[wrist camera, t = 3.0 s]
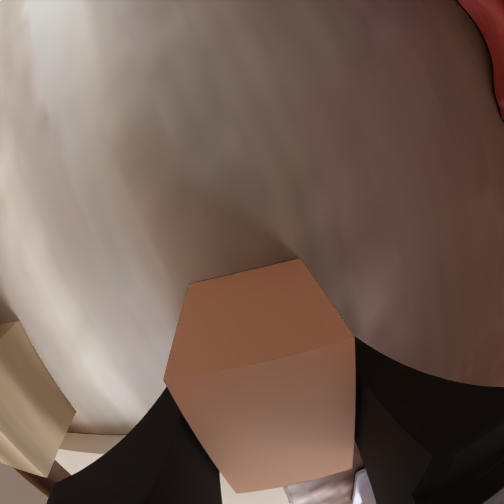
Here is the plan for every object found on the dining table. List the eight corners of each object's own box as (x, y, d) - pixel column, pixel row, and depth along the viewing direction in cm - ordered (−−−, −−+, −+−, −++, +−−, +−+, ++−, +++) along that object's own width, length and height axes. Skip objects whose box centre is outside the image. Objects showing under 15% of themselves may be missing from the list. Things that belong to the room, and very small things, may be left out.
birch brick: (20, 319, 10) (-38, 379, 6) (76, 410, 12) (47, 477, 7) (-18, 326, 10) (-68, 375, 6) (32, 407, 12) (2, 463, 7)
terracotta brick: (300, 258, 10) (354, 337, 5) (318, 380, 12) (352, 468, 7) (188, 284, 10) (163, 379, 5) (231, 400, 12) (236, 493, 7)
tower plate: (262, 421, 13) (265, 445, 11) (294, 507, 17) (297, 521, 16) (49, 430, 13) (41, 447, 11) (143, 515, 17) (141, 528, 15)
